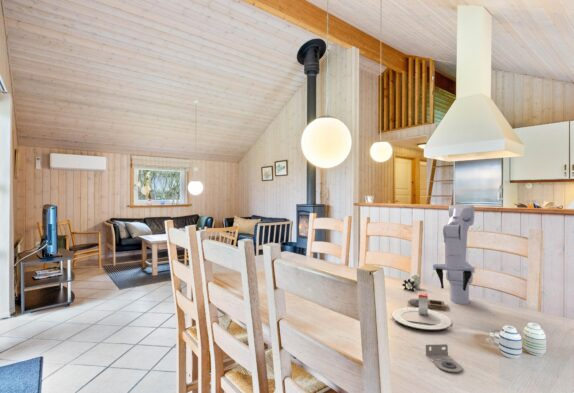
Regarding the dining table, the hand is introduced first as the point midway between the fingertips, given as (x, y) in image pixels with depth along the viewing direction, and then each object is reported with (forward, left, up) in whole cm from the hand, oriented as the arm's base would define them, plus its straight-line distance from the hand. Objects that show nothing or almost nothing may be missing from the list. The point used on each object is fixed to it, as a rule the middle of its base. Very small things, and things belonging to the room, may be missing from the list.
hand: (453, 288), depth 123 cm
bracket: (+40, -6, -11) cm, 42 cm away
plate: (+11, -12, -11) cm, 20 cm away
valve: (-30, -15, -11) cm, 35 cm away
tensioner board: (-5, -9, -10) cm, 15 cm away
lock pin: (+6, -11, -9) cm, 15 cm away
